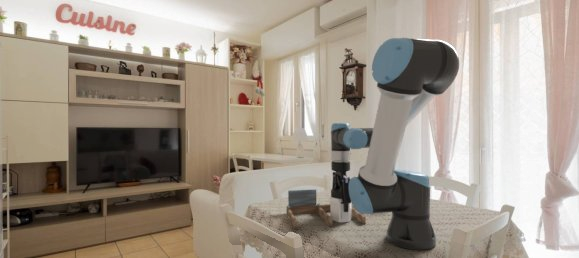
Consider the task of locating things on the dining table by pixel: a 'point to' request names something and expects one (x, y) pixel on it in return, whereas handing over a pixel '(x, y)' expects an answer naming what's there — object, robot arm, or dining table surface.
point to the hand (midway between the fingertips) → (341, 215)
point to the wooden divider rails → (312, 207)
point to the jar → (337, 206)
